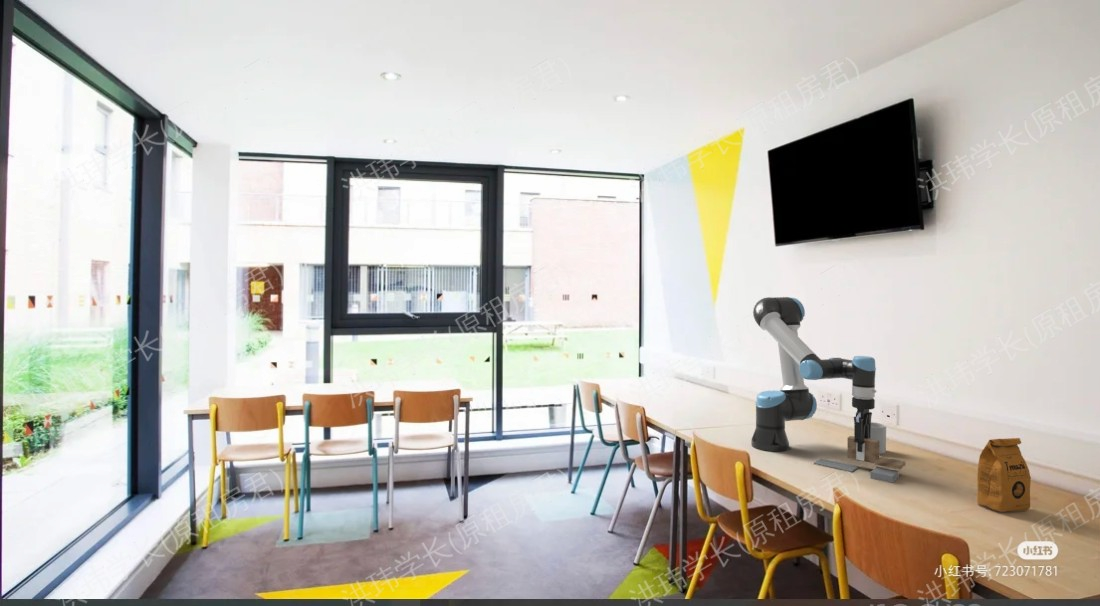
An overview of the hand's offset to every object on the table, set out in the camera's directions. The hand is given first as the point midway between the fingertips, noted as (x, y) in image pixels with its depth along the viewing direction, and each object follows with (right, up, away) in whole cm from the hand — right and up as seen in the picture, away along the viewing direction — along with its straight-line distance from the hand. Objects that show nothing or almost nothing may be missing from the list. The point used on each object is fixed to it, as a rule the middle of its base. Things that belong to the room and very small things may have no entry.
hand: (862, 458), depth 214 cm
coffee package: (+22, -5, -39) cm, 45 cm away
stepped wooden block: (+3, -1, -3) cm, 4 cm away
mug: (+16, -3, +23) cm, 28 cm away
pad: (-8, -3, +3) cm, 10 cm away
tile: (+5, -3, -8) cm, 10 cm away
